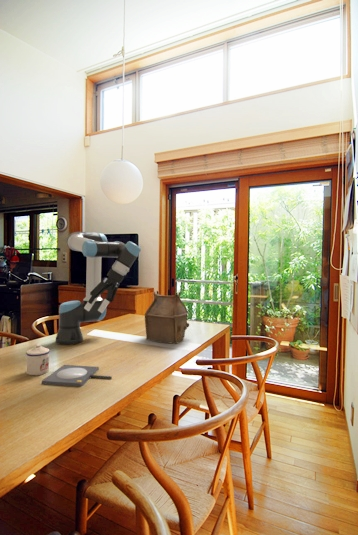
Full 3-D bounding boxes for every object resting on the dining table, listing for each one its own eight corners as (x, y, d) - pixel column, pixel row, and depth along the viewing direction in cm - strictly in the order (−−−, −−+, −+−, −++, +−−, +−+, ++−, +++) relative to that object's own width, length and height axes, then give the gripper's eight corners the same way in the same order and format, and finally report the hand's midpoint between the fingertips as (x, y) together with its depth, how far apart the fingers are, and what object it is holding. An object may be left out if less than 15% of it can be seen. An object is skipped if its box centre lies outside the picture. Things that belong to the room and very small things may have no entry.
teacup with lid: (43, 376, 123) (43, 348, 123) (21, 375, 123) (21, 347, 123) (55, 365, 135) (56, 340, 135) (35, 365, 135) (36, 339, 135)
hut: (179, 346, 170) (180, 294, 169) (137, 340, 180) (138, 291, 179) (192, 337, 191) (193, 290, 190) (154, 332, 201) (155, 288, 200)
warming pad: (41, 383, 116) (41, 380, 116) (64, 367, 134) (64, 364, 133) (104, 388, 113) (104, 384, 113) (118, 370, 131) (118, 367, 131)
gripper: (113, 270, 128) (86, 313, 126) (133, 280, 152) (110, 316, 150) (100, 262, 130) (73, 304, 128) (121, 273, 154) (99, 308, 152)
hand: (93, 310), depth 139 cm, fingers open, 13 cm apart
